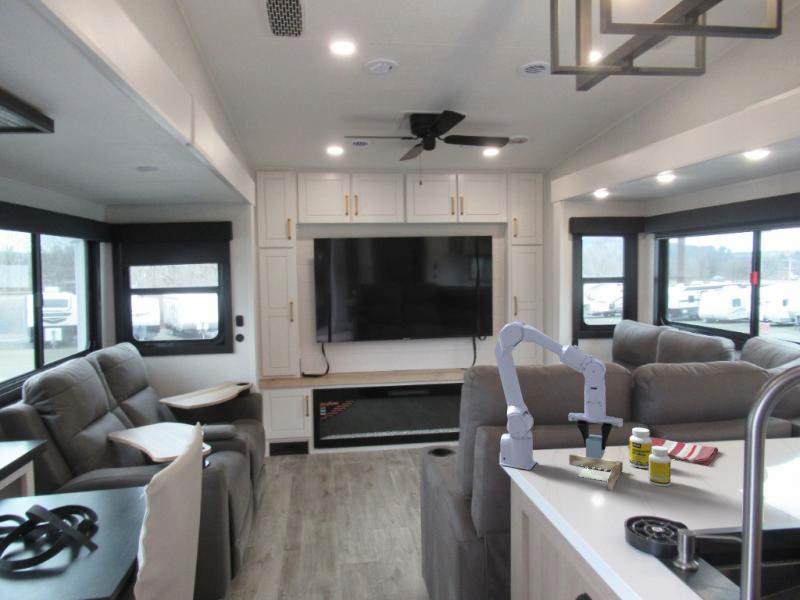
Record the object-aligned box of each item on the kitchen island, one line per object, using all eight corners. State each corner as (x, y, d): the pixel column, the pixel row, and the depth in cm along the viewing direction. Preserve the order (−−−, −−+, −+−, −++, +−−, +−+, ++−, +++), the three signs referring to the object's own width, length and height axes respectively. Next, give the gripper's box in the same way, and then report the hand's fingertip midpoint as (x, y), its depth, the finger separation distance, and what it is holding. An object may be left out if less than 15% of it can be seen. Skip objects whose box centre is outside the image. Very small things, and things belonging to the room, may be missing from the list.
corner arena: (556, 480, 143) (556, 470, 143) (570, 463, 157) (570, 453, 157) (613, 491, 136) (613, 480, 136) (622, 471, 149) (622, 461, 149)
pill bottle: (629, 468, 152) (629, 431, 152) (629, 461, 158) (628, 425, 158) (653, 470, 150) (652, 433, 150) (651, 463, 156) (651, 427, 155)
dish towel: (708, 468, 152) (708, 459, 152) (626, 452, 168) (626, 444, 168) (718, 453, 165) (718, 445, 165) (641, 440, 180) (641, 432, 180)
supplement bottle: (673, 487, 138) (673, 451, 137) (651, 486, 139) (651, 450, 138) (667, 479, 143) (667, 445, 143) (646, 478, 144) (646, 444, 144)
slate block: (590, 451, 151) (590, 434, 151) (604, 453, 149) (604, 436, 149) (586, 457, 146) (585, 439, 146) (600, 459, 144) (600, 441, 144)
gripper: (565, 401, 147) (566, 447, 148) (619, 406, 140) (620, 455, 140) (571, 396, 153) (571, 441, 154) (623, 401, 146) (623, 448, 146)
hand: (595, 447), depth 147 cm, fingers closed on slate block, 4 cm apart
